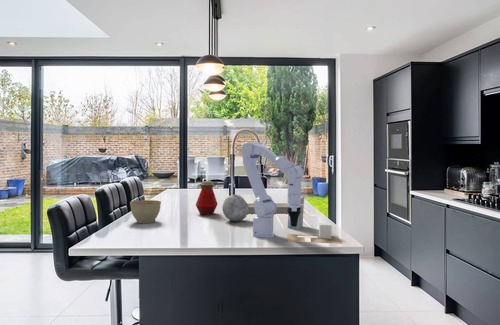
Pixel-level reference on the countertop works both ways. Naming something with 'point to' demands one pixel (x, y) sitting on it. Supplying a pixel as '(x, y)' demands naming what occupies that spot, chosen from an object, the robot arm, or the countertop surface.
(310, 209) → the countertop surface
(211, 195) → the bottle
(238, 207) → the decorative orb
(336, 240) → the board
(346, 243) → the countertop surface
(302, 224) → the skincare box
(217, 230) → the countertop surface
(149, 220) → the planter bowl
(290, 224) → the blue cylinder
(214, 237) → the countertop surface
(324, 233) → the grey block
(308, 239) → the letter T
